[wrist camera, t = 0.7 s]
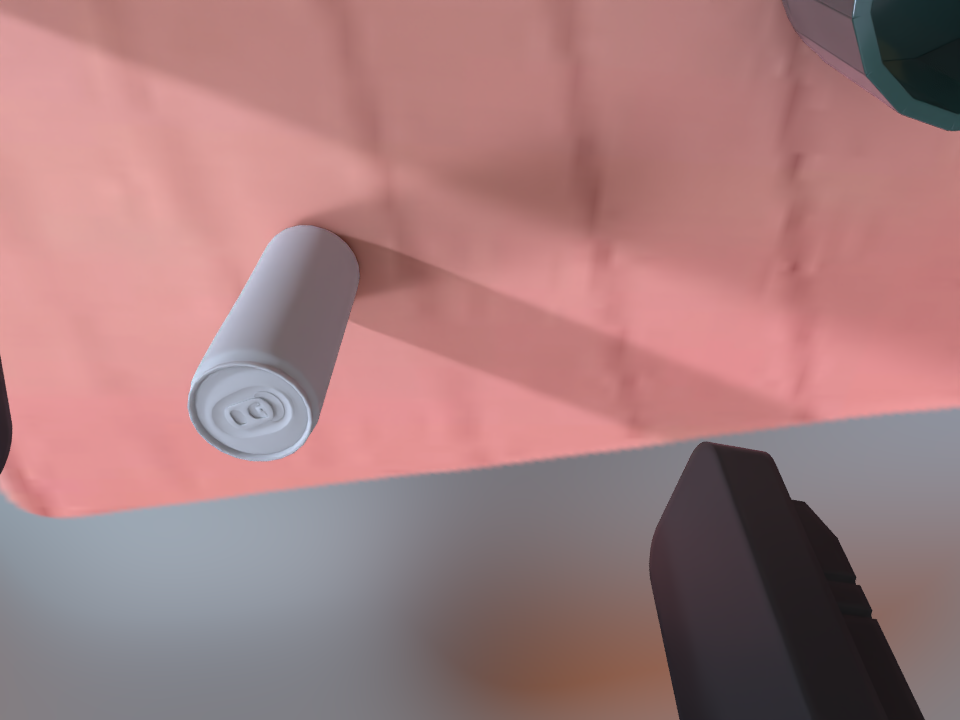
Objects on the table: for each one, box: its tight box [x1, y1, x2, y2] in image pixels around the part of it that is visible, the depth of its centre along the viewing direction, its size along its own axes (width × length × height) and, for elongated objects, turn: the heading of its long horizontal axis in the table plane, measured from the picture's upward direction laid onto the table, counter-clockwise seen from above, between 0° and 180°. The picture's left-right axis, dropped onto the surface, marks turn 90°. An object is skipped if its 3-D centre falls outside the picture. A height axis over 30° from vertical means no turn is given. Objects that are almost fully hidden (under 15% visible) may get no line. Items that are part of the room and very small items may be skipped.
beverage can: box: [188, 225, 360, 461], centre depth 34 cm, size 5×5×12 cm
